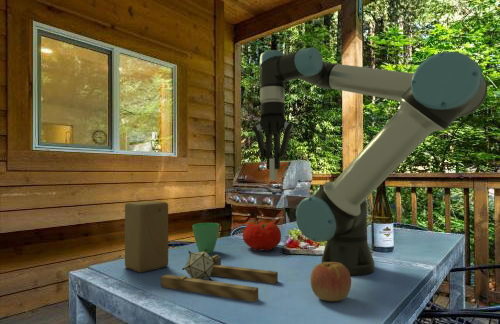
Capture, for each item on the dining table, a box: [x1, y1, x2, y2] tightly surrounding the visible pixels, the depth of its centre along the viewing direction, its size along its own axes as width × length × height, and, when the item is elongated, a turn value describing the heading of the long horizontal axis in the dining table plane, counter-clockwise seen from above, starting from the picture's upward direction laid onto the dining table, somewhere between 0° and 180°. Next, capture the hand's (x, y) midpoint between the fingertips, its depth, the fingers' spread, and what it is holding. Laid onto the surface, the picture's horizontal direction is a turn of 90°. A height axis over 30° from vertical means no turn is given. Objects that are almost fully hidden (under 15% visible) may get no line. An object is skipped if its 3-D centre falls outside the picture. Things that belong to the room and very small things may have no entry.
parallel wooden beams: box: [160, 254, 279, 303], centre depth 85 cm, size 26×18×4 cm
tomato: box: [242, 221, 282, 252], centre depth 124 cm, size 14×16×10 cm
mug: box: [192, 222, 220, 255], centre depth 121 cm, size 15×10×10 cm
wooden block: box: [124, 200, 169, 274], centre depth 101 cm, size 10×10×20 cm
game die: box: [181, 249, 217, 281], centre depth 87 cm, size 9×8×10 cm
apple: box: [310, 262, 352, 302], centre depth 73 cm, size 9×9×8 cm
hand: (273, 180), depth 99 cm, fingers closed
